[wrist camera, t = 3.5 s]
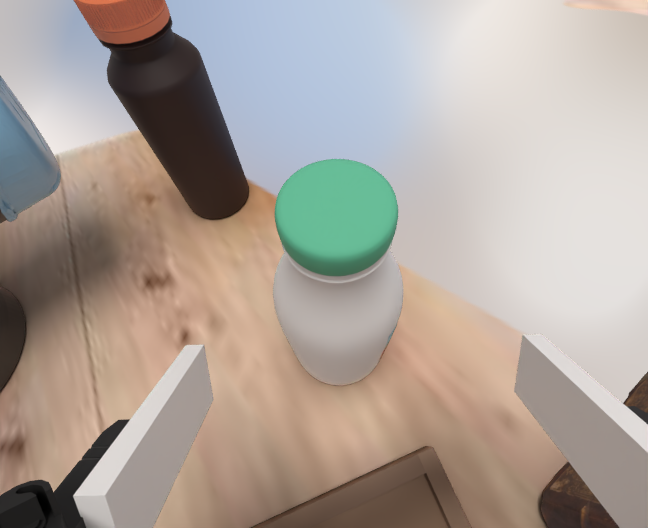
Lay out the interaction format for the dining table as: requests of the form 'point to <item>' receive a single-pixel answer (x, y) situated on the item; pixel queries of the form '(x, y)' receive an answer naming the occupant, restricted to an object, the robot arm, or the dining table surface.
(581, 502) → the book
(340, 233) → the milk bottle
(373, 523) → the walnut tray
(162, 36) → the vinegar
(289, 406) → the dining table surface
